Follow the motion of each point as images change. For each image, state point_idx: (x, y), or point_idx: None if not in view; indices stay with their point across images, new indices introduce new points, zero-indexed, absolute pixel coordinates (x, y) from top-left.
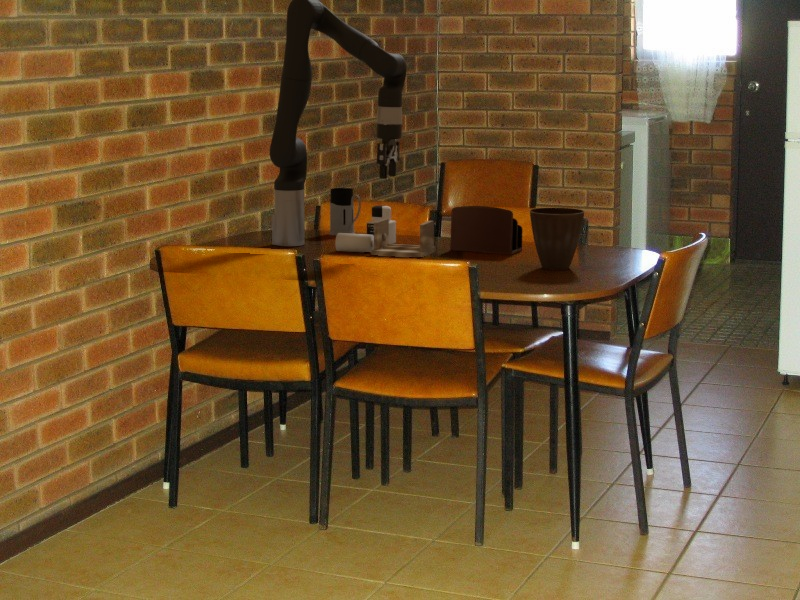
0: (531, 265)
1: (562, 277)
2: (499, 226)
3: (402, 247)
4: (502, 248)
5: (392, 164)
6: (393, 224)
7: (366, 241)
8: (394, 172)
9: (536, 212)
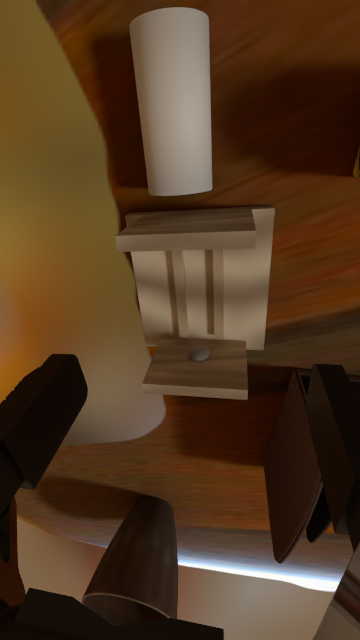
0: (162, 487)
1: (92, 509)
2: (276, 505)
3: (176, 294)
4: (268, 463)
5: (339, 501)
6: None
7: (148, 184)
8: (313, 430)
9: (143, 594)
